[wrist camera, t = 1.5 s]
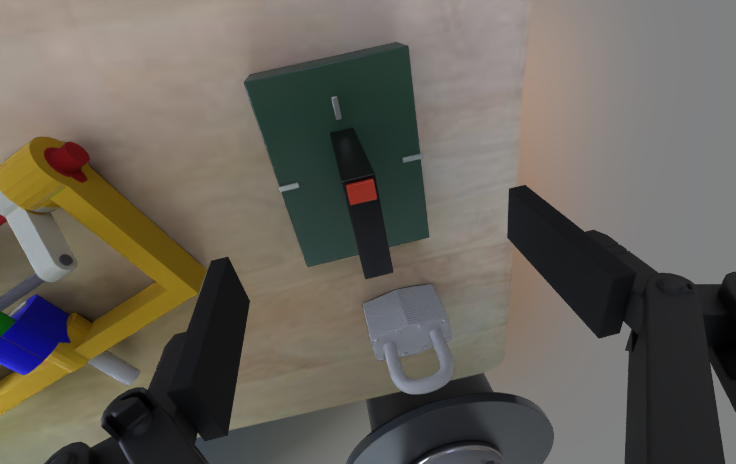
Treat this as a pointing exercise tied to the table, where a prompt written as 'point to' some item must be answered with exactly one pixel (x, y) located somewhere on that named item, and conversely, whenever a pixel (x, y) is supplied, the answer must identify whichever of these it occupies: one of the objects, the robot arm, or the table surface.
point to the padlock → (410, 334)
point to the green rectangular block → (315, 150)
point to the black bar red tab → (362, 203)
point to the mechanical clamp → (55, 259)
